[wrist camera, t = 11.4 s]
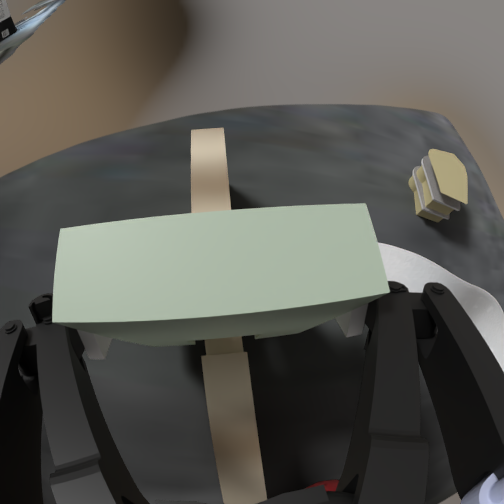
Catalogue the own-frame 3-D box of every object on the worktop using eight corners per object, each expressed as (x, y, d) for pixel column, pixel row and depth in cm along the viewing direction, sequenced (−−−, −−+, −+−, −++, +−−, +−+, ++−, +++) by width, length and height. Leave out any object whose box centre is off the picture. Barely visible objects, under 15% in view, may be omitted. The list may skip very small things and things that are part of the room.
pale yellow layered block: (456, 245, 26) (486, 225, 21) (397, 225, 26) (425, 198, 21) (445, 178, 30) (467, 154, 25) (391, 155, 30) (411, 126, 25)
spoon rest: (498, 327, 23) (540, 314, 16) (470, 421, 19) (517, 424, 12) (352, 223, 26) (386, 181, 19) (296, 333, 22) (326, 321, 15)
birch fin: (257, 474, 17) (269, 515, 10) (227, 477, 17) (227, 519, 10) (223, 180, 26) (223, 127, 20) (198, 182, 26) (191, 130, 19)
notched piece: (152, 346, 18) (52, 322, 6) (150, 304, 19) (60, 229, 8) (298, 333, 19) (390, 292, 8) (292, 291, 20) (365, 203, 9)
